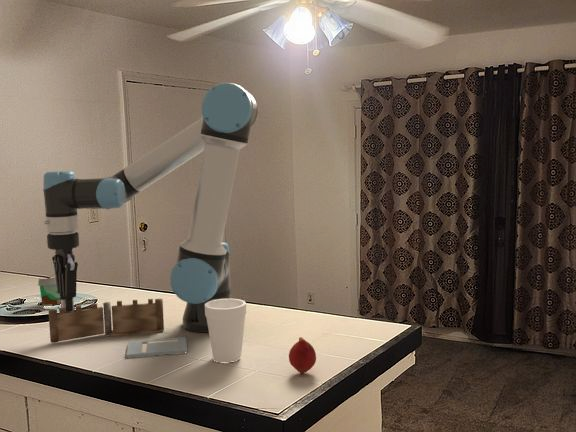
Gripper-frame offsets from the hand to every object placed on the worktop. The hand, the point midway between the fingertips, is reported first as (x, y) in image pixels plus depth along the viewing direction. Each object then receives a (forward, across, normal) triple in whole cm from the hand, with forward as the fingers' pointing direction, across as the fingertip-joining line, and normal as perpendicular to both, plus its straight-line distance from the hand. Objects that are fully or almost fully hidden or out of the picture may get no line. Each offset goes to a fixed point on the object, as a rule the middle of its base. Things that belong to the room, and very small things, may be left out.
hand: (68, 322), depth 151 cm
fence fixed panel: (+5, +6, +15) cm, 17 cm away
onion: (+4, +57, +31) cm, 65 cm away
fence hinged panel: (+4, +2, +2) cm, 5 cm away
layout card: (+4, +22, +14) cm, 26 cm away
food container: (+5, -36, +8) cm, 37 cm away
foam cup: (+4, +39, +24) cm, 46 cm away
